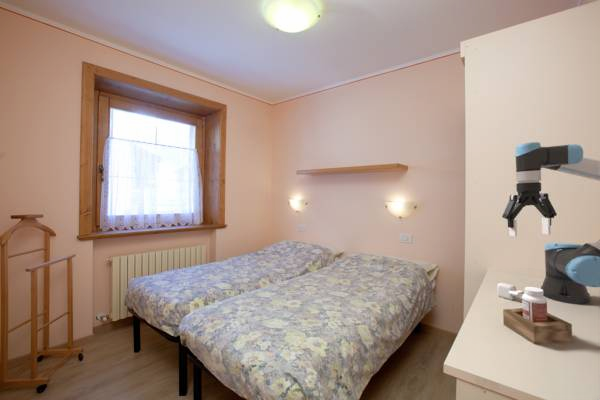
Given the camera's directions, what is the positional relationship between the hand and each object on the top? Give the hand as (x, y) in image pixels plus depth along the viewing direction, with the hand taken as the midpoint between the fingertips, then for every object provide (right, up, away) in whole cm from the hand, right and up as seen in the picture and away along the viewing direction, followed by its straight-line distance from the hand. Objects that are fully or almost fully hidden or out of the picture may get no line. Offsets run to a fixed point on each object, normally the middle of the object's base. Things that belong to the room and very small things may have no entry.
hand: (529, 235), depth 107 cm
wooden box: (-14, -30, -18) cm, 38 cm away
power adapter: (-1, -29, +7) cm, 30 cm away
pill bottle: (-14, -27, -18) cm, 36 cm away
